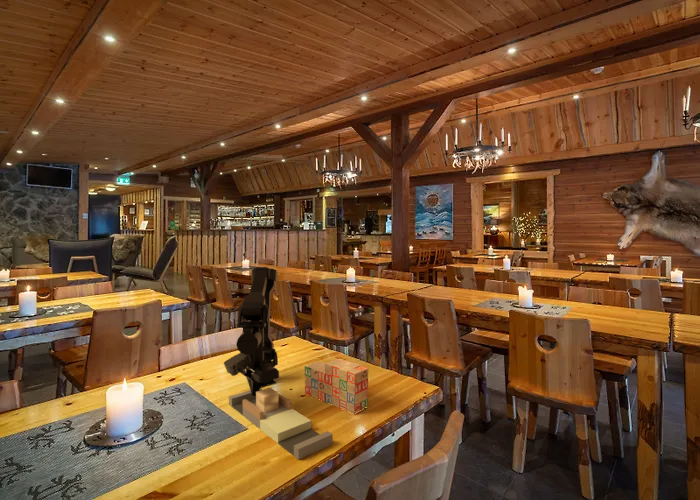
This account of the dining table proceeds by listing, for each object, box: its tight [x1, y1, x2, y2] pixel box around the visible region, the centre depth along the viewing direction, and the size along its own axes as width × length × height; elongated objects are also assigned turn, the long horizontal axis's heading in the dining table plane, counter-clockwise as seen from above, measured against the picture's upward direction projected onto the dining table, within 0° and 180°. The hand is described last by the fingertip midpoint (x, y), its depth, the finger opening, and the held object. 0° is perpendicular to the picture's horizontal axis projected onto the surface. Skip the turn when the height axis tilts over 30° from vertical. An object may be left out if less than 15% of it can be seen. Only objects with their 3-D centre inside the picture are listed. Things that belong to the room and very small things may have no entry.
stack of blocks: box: [304, 358, 369, 415], centre depth 122 cm, size 21×6×12 cm, turn 48°
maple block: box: [256, 387, 279, 413], centre depth 111 cm, size 4×4×4 cm
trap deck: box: [228, 388, 334, 460], centre depth 108 cm, size 10×37×4 cm, turn 41°
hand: (254, 395), depth 117 cm, fingers closed
